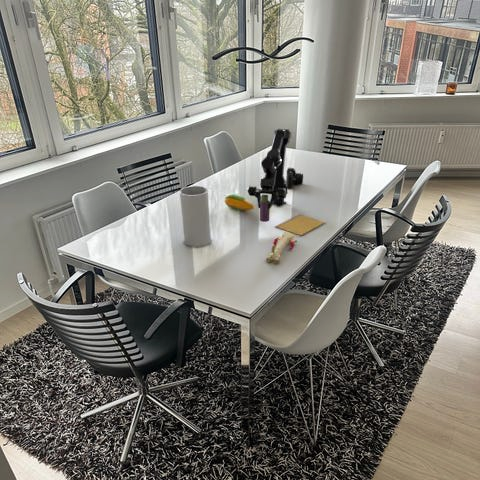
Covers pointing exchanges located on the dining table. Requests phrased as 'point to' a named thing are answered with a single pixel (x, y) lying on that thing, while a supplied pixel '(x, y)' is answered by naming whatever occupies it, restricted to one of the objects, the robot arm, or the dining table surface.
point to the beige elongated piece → (281, 246)
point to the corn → (238, 203)
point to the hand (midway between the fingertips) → (264, 208)
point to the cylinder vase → (195, 215)
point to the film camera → (293, 178)
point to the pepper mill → (264, 209)
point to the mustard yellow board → (300, 225)
